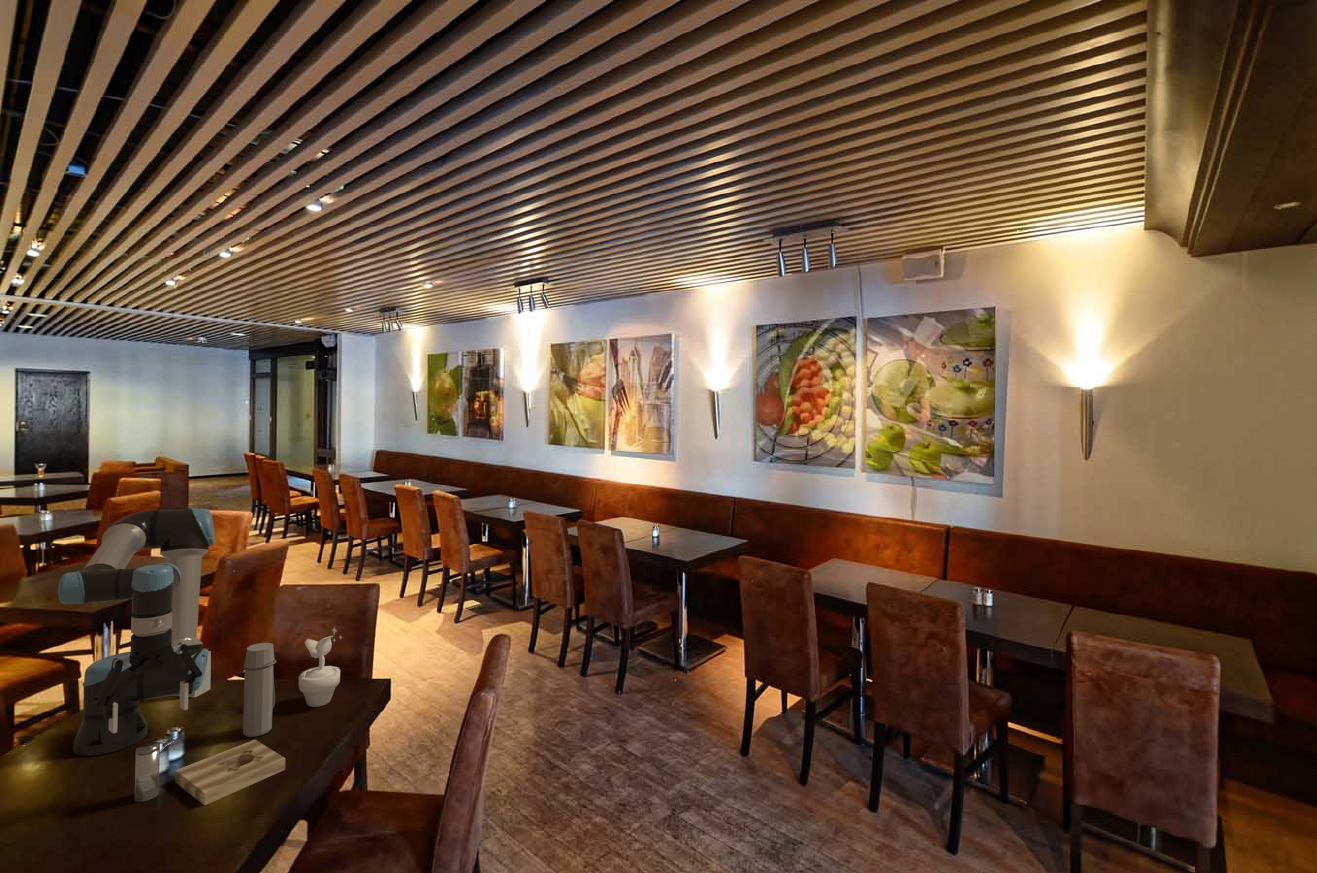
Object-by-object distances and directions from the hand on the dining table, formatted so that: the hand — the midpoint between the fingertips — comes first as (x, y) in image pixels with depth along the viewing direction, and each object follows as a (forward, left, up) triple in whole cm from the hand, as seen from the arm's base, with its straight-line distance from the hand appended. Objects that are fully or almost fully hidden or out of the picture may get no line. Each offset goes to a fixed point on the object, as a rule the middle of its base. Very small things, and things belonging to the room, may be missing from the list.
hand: (149, 719), depth 143 cm
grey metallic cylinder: (0, 0, -18) cm, 19 cm away
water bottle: (-11, +30, -19) cm, 37 cm away
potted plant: (-15, +49, -19) cm, 54 cm away
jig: (+7, +15, -18) cm, 25 cm away
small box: (-54, +29, -19) cm, 64 cm away
